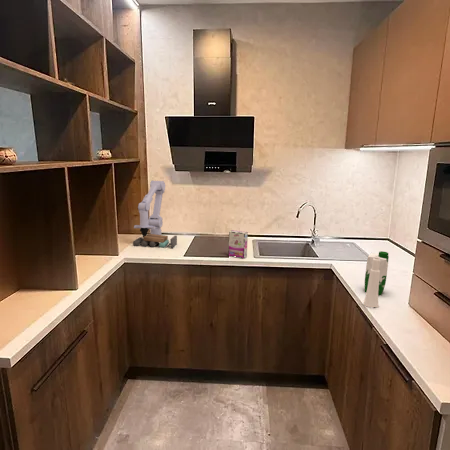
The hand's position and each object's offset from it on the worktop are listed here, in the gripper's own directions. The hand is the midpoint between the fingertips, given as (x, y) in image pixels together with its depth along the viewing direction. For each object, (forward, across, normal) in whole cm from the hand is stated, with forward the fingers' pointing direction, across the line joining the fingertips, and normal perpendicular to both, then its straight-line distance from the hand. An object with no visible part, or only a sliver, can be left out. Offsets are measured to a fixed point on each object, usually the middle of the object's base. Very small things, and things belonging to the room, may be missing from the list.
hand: (144, 238), depth 232 cm
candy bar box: (+5, +67, -15) cm, 69 cm away
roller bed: (+4, +5, 0) cm, 7 cm away
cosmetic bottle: (+5, +132, -74) cm, 151 cm away
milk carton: (+5, +138, -58) cm, 149 cm away
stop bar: (+4, +21, 0) cm, 21 cm away
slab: (0, +8, 0) cm, 8 cm away
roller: (+4, +15, 0) cm, 16 cm away
